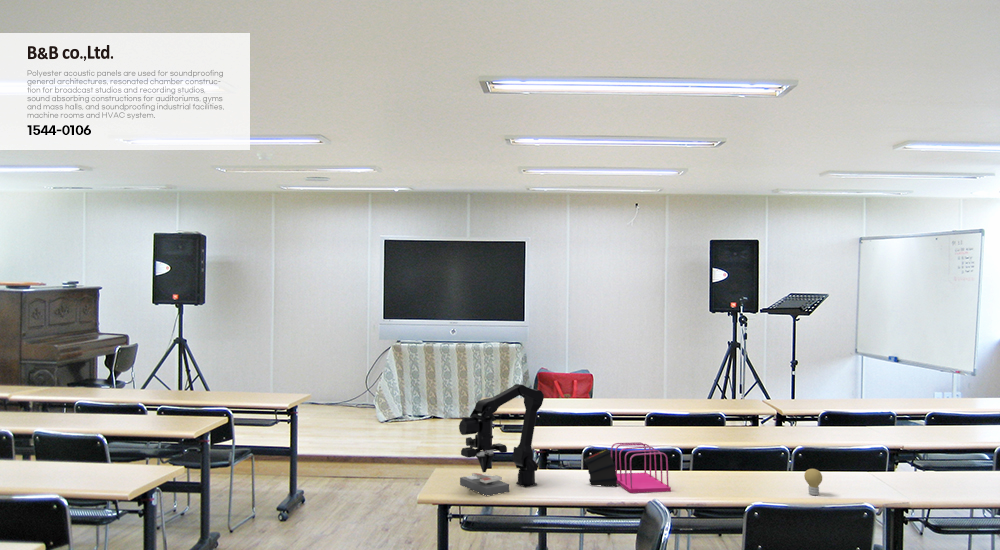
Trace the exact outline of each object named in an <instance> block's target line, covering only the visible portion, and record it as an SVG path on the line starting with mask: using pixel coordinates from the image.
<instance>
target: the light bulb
mask: <svg viewBox="0 0 1000 550" xmlns="http://www.w3.org/2000/svg"><path fill="white" fill-rule="evenodd" d="M804 480H805V482H806V483H807V484H808V487H807V488H808V494H809V495H811V496H818V495H820V488H819V485H821V483H822V482H823V475H822V472H821V471H820V470H818V469H816V468H809V469H807V470H805V472H804Z"/></svg>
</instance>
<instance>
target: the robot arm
mask: <svg viewBox="0 0 1000 550" xmlns="http://www.w3.org/2000/svg"><path fill="white" fill-rule="evenodd" d="M518 397H521V398H523V405H524V408H525V411H524V416H523V417H524V418H523V424H522V430H521V435H520V441H519V444H518V445H517V447H516V446H514V447H513V453H512V455H511V457H512V461H513V463H514V464H515V467H516V469H518V473H517V482H516V485H519V486H522V487H525V488H526V487H531V486H537V485H538V483H537V482H536V472H537V471H538V469H539V465H538V463H537V462H536V461H535V460H534V451H533V447H532V443H533V437H534V432H535V428H536V427H535V426H536V420H537V414H538V411H539V409H540V408H541V407H542V405H543V403H544V400H545V394H544V393H543V391H542V390H540V389H533V388H531V387H528V386H527V385H524V384H522V383H521V384H519V383H516V384H514V385H512V386H510V387H509V388H507V389H505V390H504V391H501V392H500V393H497V394H496V395H493V396H492V397H487V398H483V399H480V400H477V401H476V403H475V406H474V408H473V410H472V412H471V413H470V415H469V416H468V417H467V416H462V417H461V421H460V422H459V425H458V429H459V433H460V434H461V435H462V436H466V435H468V437H466V438H465V445H466V447H463V448H461V450H460V455H461V456H463V457H466V458H475V457H476V458H477V460H478V462H479V466H480V467H481V471H482V473H486V472H487V470H488V468H489V466H490V464H491V462H492V460H493V458H494V457H495V456H496V454H495V453H494V452H499V453H500V454H505V453H507V452H508V447H507V445H506V444H502V443H501V442H500V443H493V444H492V439H494V435H493V434H492V426H493V425H492V422H494V421H497V418H495V416H494V415H493V414H495V413H496V412H497V410H498V409H499V408H500V407H501V406H503V405H505V404H506V403H509V402H510V401H512V400H513V399H514V400H515V398H518ZM469 435H475V436H474V438H472V436H471V437H469Z"/></svg>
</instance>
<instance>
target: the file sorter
mask: <svg viewBox="0 0 1000 550" xmlns="http://www.w3.org/2000/svg"><path fill="white" fill-rule="evenodd" d="M616 445H617V446H616ZM614 446H616V447H615V452H614V454H615V461H614V464H615V471H616V476H617V484H618V483H619V484H620V485H621V486H620V485H619V484H618V485H619V486H620V487H622V488H624V490H625V491H627V492H628V493H630V494H638V493H662V492H664V493H665V492H672V488H671V486H669V463H668V462H669V461H668V459H669V458H668V455H667V454H666V453H664V452H661V451H660V450H658V449H655V448H654V447H653V446H651V445H649V444H646V443H643V442H636V441H635V442H615V443H614V444H612V445H611V448H610V453H611V454H610V455H611V457H612V458H613V448H614ZM621 446H623V447H624V446H626V447H625V448H622V449H620V451H619V454H618V449H619V447H621ZM627 446H634V447H627ZM635 449H639V450H635ZM640 449H641V450H640ZM625 450H629V451H627V452H626V453H625V455H624V472H623V473H622V459H621V458H622V457H621V456H622V452H623V451H625ZM643 452H644V453H643ZM630 453H634V454H632V455H631V456H630V458H629V472H627V456H628V455H629V454H630ZM648 455H649V473H648V472H647V456H648ZM652 455H653V456H654V476H652ZM656 455H660V460H659V461H660V462H659V463H660V480H659V479H658V475H657V474H658V472H657V456H656ZM636 456H644V472H632V459H633V458H634V457H636ZM662 456H664V457H665V467H666V469H665V470H666V483H664V482H663V457H662ZM617 457H619V473H618V458H617Z"/></svg>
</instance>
